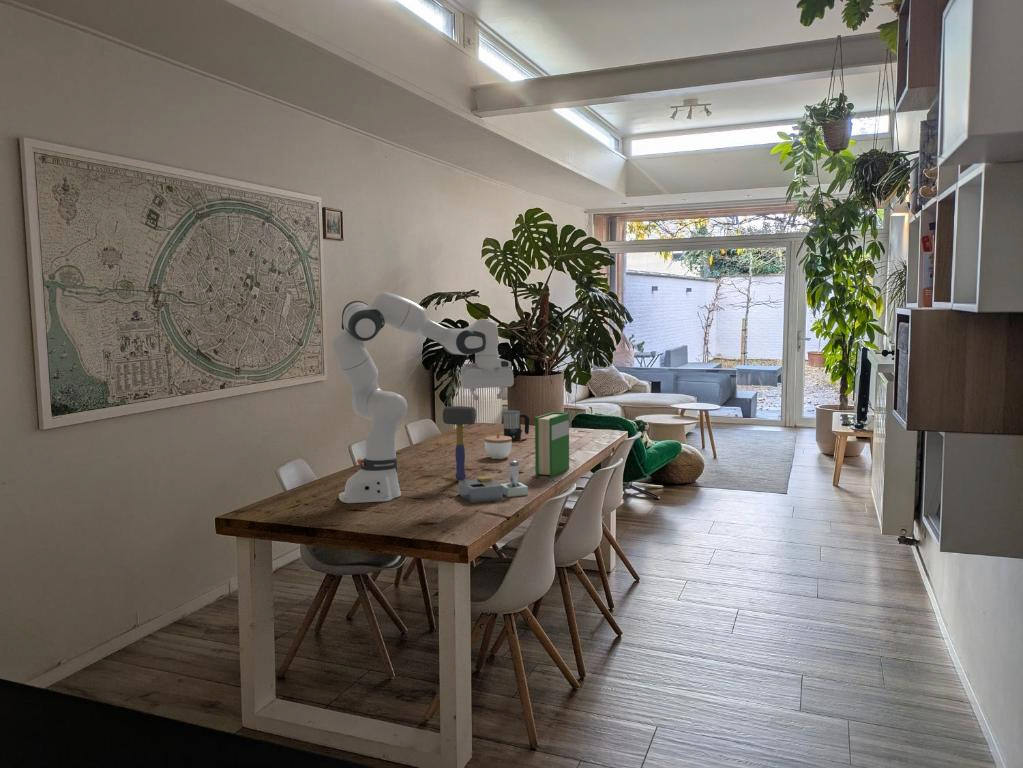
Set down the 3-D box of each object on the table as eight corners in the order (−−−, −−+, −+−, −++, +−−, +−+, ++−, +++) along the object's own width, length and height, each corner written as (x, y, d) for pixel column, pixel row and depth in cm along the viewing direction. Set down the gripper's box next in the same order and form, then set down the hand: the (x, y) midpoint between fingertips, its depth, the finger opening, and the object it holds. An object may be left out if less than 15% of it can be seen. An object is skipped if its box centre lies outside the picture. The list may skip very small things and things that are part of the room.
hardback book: (552, 477, 312) (551, 418, 309) (535, 475, 315) (535, 417, 313) (569, 468, 327) (568, 412, 325) (553, 467, 331) (552, 411, 328)
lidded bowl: (513, 455, 359) (513, 431, 358) (510, 460, 347) (510, 436, 346) (486, 454, 361) (486, 431, 360) (482, 460, 348) (482, 436, 347)
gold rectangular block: (481, 495, 282) (480, 479, 282) (477, 492, 286) (477, 476, 286) (492, 494, 284) (492, 478, 283) (488, 491, 288) (488, 475, 287)
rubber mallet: (442, 482, 305) (441, 407, 302) (448, 478, 312) (447, 404, 309) (473, 483, 302) (471, 407, 299) (478, 479, 309) (477, 405, 306)
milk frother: (508, 441, 396) (507, 413, 394) (494, 437, 409) (493, 409, 408) (532, 439, 402) (531, 411, 401) (517, 434, 416) (517, 407, 415)
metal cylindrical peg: (511, 494, 283) (511, 462, 282) (508, 492, 286) (507, 460, 285) (520, 493, 284) (520, 461, 283) (516, 491, 287) (516, 460, 286)
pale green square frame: (507, 496, 280) (507, 488, 280) (500, 492, 287) (500, 484, 287) (528, 494, 283) (527, 486, 282) (520, 489, 290) (520, 482, 290)
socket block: (470, 502, 272) (470, 488, 271) (459, 494, 285) (458, 480, 284) (502, 499, 276) (502, 485, 276) (489, 491, 289) (489, 477, 289)
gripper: (463, 364, 282) (463, 401, 283) (515, 362, 289) (515, 398, 290) (457, 363, 288) (458, 400, 289) (509, 361, 295) (509, 397, 296)
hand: (487, 399), depth 290 cm, fingers open, 8 cm apart
